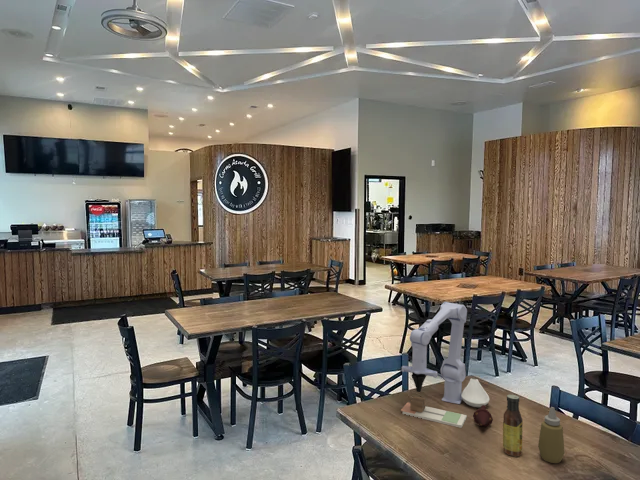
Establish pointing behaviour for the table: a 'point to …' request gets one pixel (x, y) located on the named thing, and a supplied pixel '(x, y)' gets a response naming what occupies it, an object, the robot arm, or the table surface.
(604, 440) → the table surface
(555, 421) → the squeeze bottle
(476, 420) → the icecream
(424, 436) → the table surface
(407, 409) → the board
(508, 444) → the sauce bottle
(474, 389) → the spoon rest
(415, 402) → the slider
